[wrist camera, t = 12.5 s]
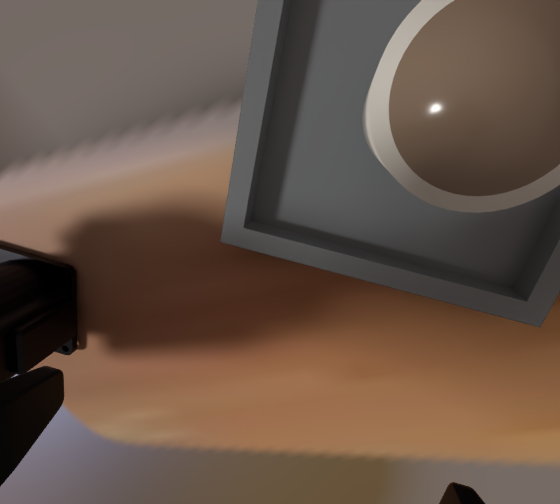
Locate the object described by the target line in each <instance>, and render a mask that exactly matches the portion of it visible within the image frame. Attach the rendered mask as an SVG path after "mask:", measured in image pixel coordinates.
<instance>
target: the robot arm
mask: <svg viewBox="0 0 560 504" xmlns="http://www.w3.org/2000/svg"><path fill="white" fill-rule="evenodd" d="M66 273H67V274H68V275H67V274H66ZM76 348H77V306H76V271H75V269H74V268H73V267H72V266H70V265H67V264H64V263H60V262H57V261H53V260H50V259H46V258H43V257H39V256H36V255H32V254H29V253H25V252H22V251H18V250H15V249H11V248H8V247H5V246H1V245H0V486H1V485H2V484H3V483H4V482H5V480H6V479H7V478H8V477H9V475H10V474H11V473H12V472H13V471H14V469H15V468H16V467H17V466H18V464H19V463H20V461H21V460H22V459H23V458H24V456H25V455H26V454H27V452H28V451H29V449H30V448H31V447H32V445H33V444H34V443H35V441H36V440H37V439H38V437H39V436H40V435H41V433H42V432H43V430H44V429H45V428H46V426H47V425H48V424H49V422H50V421H51V420H52V418H53V417H54V415H55V414H56V413H57V411H58V410H59V409H60V407H61V405H62V403H63V400H64V376H63V372H62V371H61V370H59V369H56V368H52V367H48V366H43V367H40V368H37V369H34V370H32V371H29V370H30V369H31V368H33V367H34V366H35V365H37V364H38V363H39V362H41V361H42V360H44V359H45V358H46V357H48V356H49V355H50V354H52V353H53V352H54V351H55V352H58V353H61V354H64V355H70V354H72V353H73V352H74V351H75V350H76ZM27 371H29V372H27ZM15 374H18V376H15V377H13V376H14V375H15ZM11 377H12V378H11ZM439 504H485V503H484V502H483V500H482V499H481V498H480V497H479V495H478V494H477V493H476V492H475V491H474V490H473V489H472V488H471V487H469V486H465V485H462V484H458V483H455V482H452V483H450V484H449V485H448V487H447V489H446V491H445V493H444V495H443V497H442V499H441V501H440V503H439Z"/></svg>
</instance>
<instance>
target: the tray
mask: <svg viewBox="0 0 560 504" xmlns="http://www.w3.org/2000/svg"><path fill="white" fill-rule="evenodd" d="M420 1H421V0H258V3H257V9H256V15H255V22H254V28H253V35H252V41H251V48H250V54H249V61H248V68H247V73H246V80H245V87H244V93H243V99H242V106H241V112H240V119H239V125H238V131H237V138H236V144H235V151H234V157H233V164H232V170H231V177H230V183H229V190H228V196H227V202H226V209H225V215H224V222H223V228H222V235H221V241H220V242H222V243H226V244H229V245H233V246H237V247H241V248H244V249H248V250H252V251H256V252H259V253H263V254H267V255H271V256H274V257H278V258H282V259H286V260H289V261H293V262H297V263H301V264H304V265H308V266H312V267H315V268H319V269H323V270H327V271H330V272H334V273H338V274H342V275H345V276H349V277H353V278H357V279H360V280H364V281H368V282H372V283H375V284H379V285H383V286H387V287H390V288H394V289H398V290H402V291H405V292H409V293H413V294H417V295H420V296H424V297H428V298H432V299H435V300H439V301H443V302H447V303H450V304H454V305H458V306H462V307H465V308H469V309H473V310H477V311H480V312H484V313H488V314H492V315H495V316H499V317H503V318H507V319H510V320H514V321H518V322H522V323H525V324H529V325H533V326H537V327H541V325H542V323H543V321H544V319H545V318H546V316H547V314H548V312H549V310H550V309H551V307H552V305H553V303H554V301H555V300H556V298H557V296H558V294H559V292H560V185H558V186H557V187H556V188H554V189H553V190H551V191H549V192H547V193H545V194H544V195H542V196H540V197H538V198H536V199H533V200H531V201H529V202H526V203H524V204H521V205H518V206H515V207H511V208H508V209H503V210H498V211H492V212H480V213H471V212H458V211H453V210H447V209H444V208H441V207H437V206H434V205H432V204H430V203H427V202H425V201H423V200H421V199H420V198H418V197H416V196H415V195H413V194H412V193H410V192H409V191H408V190H407V189H405V188H404V187H403V186H402V185H401V184H400V183H399V182H398V181H397V180H396V179H395V178H394V177H393V176H392V175H391V174H390V172H389V171H388V170H387V169H386V168H385V167H384V166H383V165H382V164H381V163H380V162H379V161H378V159H377V158H376V157H375V156H374V155H373V154H372V152H371V151H370V149H369V147H368V145H367V143H366V141H365V138H364V134H363V129H362V111H363V106H364V102H365V99H366V96H367V93H368V90H369V88H370V85H371V83H372V80H373V78H374V75H375V72H376V70H377V67H378V65H379V62H380V60H381V58H382V55H383V53H384V51H385V49H386V47H387V45H388V43H389V41H390V40H391V38H392V36H393V35H394V33H395V31H396V30H397V28H398V27H399V26H400V24H401V23H402V22H403V20H404V19H405V18H406V16H407V15H408V14H409V13H410V12H411V11H412V10H413V9H414V8H415V7H416V6H417V5H418V3H419V2H420Z"/></svg>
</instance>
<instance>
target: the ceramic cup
mask: <svg viewBox="0 0 560 504" xmlns="http://www.w3.org/2000/svg"><path fill="white" fill-rule="evenodd" d="M362 129H363V134H364V138H365V141H366V143H367V145H368V147H369V149H370V151H371V152H372V154H373V155H374V156H375V157H376V158H377V159H378V161H379V162H380V163H381V164H382V165H383V166H384V167H385V168H386V169H387V170H388V171H389V172H390V174H391V175H392V176H393V177H394V178H395V179H396V180H397V181H398V182H399V183H400V184H401V185H402V186H403V187H404V188H405V189H407V190H408V191H409V192H410V193H412V194H413V195H415V196H416V197H418V198H420V199H421V200H423V201H425V202H427V203H430V204H432V205H434V206H437V207H441V208H444V209H447V210H453V211H458V212H471V213H480V212H492V211H498V210H503V209H508V208H511V207H515V206H518V205H521V204H524V203H526V202H529V201H531V200H533V199H536V198H538V197H540V196H542V195H544V194H545V193H547V192H549V191H551V190H553V189H554V188H556V187H557V186H558V185H560V0H421V1H420V2H419V3H418V5H417V6H416V7H415V8H414V9H413V10H412V11H411V12H410V13H409V14H408V15H407V16H406V18H405V19H404V20H403V22H402V23H401V24H400V26H399V27H398V28H397V30H396V31H395V33H394V35H393V36H392V38H391V40H390V41H389V43H388V45H387V47H386V49H385V51H384V53H383V55H382V58H381V60H380V62H379V65H378V67H377V70H376V72H375V75H374V78H373V80H372V83H371V85H370V88H369V90H368V93H367V96H366V99H365V102H364V106H363V111H362Z"/></svg>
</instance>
